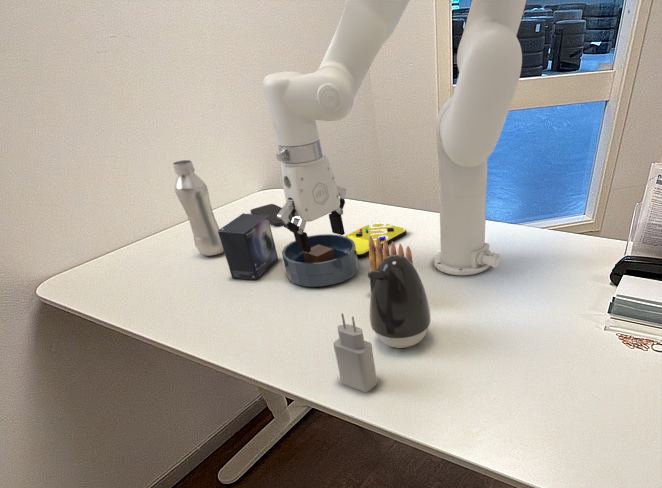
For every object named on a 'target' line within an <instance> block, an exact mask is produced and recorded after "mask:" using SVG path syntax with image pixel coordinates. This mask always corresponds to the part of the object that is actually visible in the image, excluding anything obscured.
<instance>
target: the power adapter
mask: <svg viewBox="0 0 662 488" xmlns="http://www.w3.org/2000/svg"><path fill="white" fill-rule="evenodd" d="M341 321H342V324H339V325H337V334H338V339H336V340H335V341H334V342H333V344H332V345H333V349H334V354H335V359H336V363H337V368H338V373H339V377H340V383H341V384H342V385H344V386H347V387H349V388H352V389H354V390H358V391H360V392H363V393H368V392H370V391H371V390H372V389H373V388H374V387H376V386H377V385H378V379H377V371H376V365H375V358H374V352H373V345H372V342H370V341H368V340H365V338H364V333H363V329H362V328H361V327H358V326H356V323H355V317H354V316H351V321H352V324H348V323H346V321H345V316H344V313H341Z"/></svg>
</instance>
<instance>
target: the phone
mask: <svg viewBox="0 0 662 488" xmlns="http://www.w3.org/2000/svg"><path fill="white" fill-rule="evenodd" d="M282 208H283V207H281V206H279V205H278V204H277V205H276V204H274V203H269V204H265V205H261V206H258V207H255V208H252V209H250V214H255V215H268V219H269V223H270V225H273V226H275V227H278V226H282V225H283V224H282V223H281V222H280V221H279V219H278V218H277V214H278V213H279V212H280V210H281V209H282ZM288 218H289V220H290V221H292V217H291V215H289V217H288Z"/></svg>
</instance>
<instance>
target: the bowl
mask: <svg viewBox="0 0 662 488" xmlns="http://www.w3.org/2000/svg"><path fill="white" fill-rule="evenodd" d="M307 236H308V240H309V244H310V248H312V247H314V246H316V245H318V244H319V245H322V246H326V247H329V248H332V249H333V251H334V257H335V259H334V260H330V261H325V262H319V263H305V259H304V254H303V251H300V250H299V249H298V247H297V244H296V240H295V239H294V241H291V242H289V243H288V244H286V246H284V247H283V249H282V250H281V256H282V260H283V264H284V265H283V266H284V268H285V272H286V276H287V279H288V280H289V281H290V282H291V283H293V284H296V285H298V286H304V287H312V288H313V287H326V286H327V287H328V286H333V285H336V284H339V283H342V282H345V281H347V280H348V279H351V278H353V276H355V274H356V273H358V270H359V267H360V265H359V260H358V259H357V252H356V245H355V243H354V241H353V240H351V239H350V238H348V237H345V236H346V235H339V234H334V233H333V234H332V233H323V234H314V235H313V234H312V235H307Z"/></svg>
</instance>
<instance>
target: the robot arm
mask: <svg viewBox="0 0 662 488" xmlns="http://www.w3.org/2000/svg"><path fill="white" fill-rule="evenodd" d="M409 2H410V0H344V5H343V10H342V14H341V16H340V20H339V23H338V25H337V27H336V30H335V32H334V34H333V37H332V39H331V41H330V43H329V46H328V48H327V50H326V52H325V54H324V56H323V58H322V60H321V63H320V65H319V67H318V69H317V70H316V71H313V72H310V73H305V74H304V73H302V72H299V71H296V70H295V71H294V70H292V71H291V70H287V71H280V72H273V73H270V74H267V75H265V77H264V78H263V80H262V87H263V92H264V97H265V100H266V105H267V108H268V111H269V116H270V119H271V123H272V127H273V130H274V135H275V139H276V143H277V146H278V150H279V151H278V152H277V153H276V155H275V156H276V159H277V161H279V162H282V164H281V165H280V170H281V171H280V172H281V182H282V187H283V194H284V198H285V203H284V205H283V206H282V207H281V208H282V209H281V210H280V212H279V213H278V214H277V218H278V219H279V221H280V222H281V223H282V224H283V227H284V228H285V229H287V230H289V231H290V232H291V233H293V236H294V241H295V240H296V244H297V247H298V249H299V250H300V251H304V252H307V253H309V252H311V248H310V244H309V240H308V236H309V235H308V233H307V232H306V231H305V229H306V225H307V222H308V223H309V222H313V221H315V220H318V219H320V218H322V217H324V216H326V215H328V218H329V219H328V220H329V223H330V228H331V232H332V233H333V234H334V235H341V236H345V235H346V233H345V226H344V223H343V217H342V216H343V215H344V207H345V204H346V200H345V199H346V192H347V189H346V188H345V187H342V186H340V185H339V186H338V185H337V183H336V182H337V181H336V178H335V175H334V172H333V169H332V167H331V163H330V162H329V159H328V157H327V156H326V155H325V154H323V149H322V145H321V141H320V137H319V131H318V127H317V122H316V121H323V122H337V121H341V120H342V119H344V118H346V117H347V116H348V115H349V114H350V112H351V111H352V109H353V104H354V100H355V98H356V96H357V94H358V91H359V89H360V88H361V85H362V84H363V81H364V79H365V78H366V76H367V73H368V72H369V69H370V68H371V66H372V63H373V62H374V60H375V59H376V57H377V55H378V53H379V52H380V50H381V48H382V47H383V45H384V44H385V43H386V42H387V41H388V40H389V38H390V37H391V36H392V35H393V33H394V31H395V29H396V28H397V26H398V24H399V22H400V20H401V19H402V16H403V15H404V12H405V10H406V8H407V6H408V5H409ZM526 4H527V0H471V4H470V8H469V11H468V15H467V17H466V21H465V25H464V29H463V32H462V35H461V39H460V41H459V44H458V48H457V53H456V65H457V69H458V72H459V73H458V76H457V78H456V79H457V80H456V84H455V86H454V87H455V88H454V91H453V95H452V96H451V97H449V98H448V99H447V100H446V101H445V102H444V103H443V104H442V106H441V108H440V109H439V112H438V115H437V118H436V127H435V130H436V132H435V133H436V147H437V162H438V163H437V165H438V195H439V196H438V198H439V199H438V202H439V235H440V236H439V237H440V238H439V239H440V251H439V252H437V254H435V256H434V257H433V265H434V267H435V268H436V269H437V270H438V271H440V272H442V273H445V274H446V275H447V274H448V275H452V276H472V275H477V274H481V273H482V272H484V271H486V270H487V269H489V268H490V267H492V268H497V267H498V266H499V262H500V254H499V253H497V252H493V251H492V252H491V250H490V243H488V242H486V222H487V221H486V219H487V191H488V159H489V158H490V157H491V156H492V154H493V153H494V151H495V149H496V147H497V145H498V143H499V140H500V138H501V135H502V132H503V128H504V126H505V123H506V120H507V117H508V115H509V112H510V109H511V105H512V103H513V100H514V96H515V94H516V91H517V88H518V85H519V82H520V77H521V72H522V65H523V51H522V46H521V44H520V41H519V39H518V36H517V35H518V32H519V28H520V25H521V22H522V18H523V15H524V12H525V8H526ZM289 215H291V217H292V221H290V220H289V218H288V217H289Z"/></svg>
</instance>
